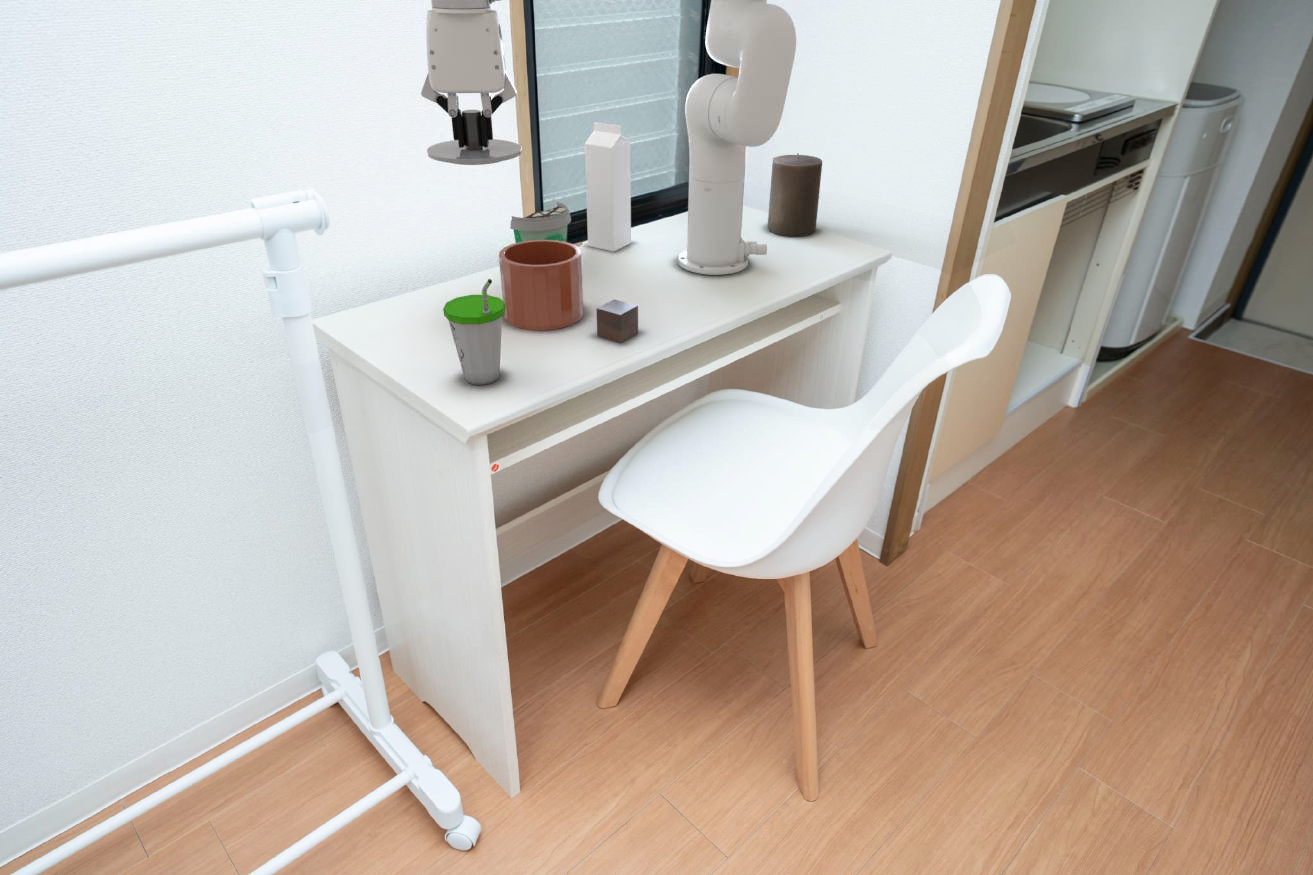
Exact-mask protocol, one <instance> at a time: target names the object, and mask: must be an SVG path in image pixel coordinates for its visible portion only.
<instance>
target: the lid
mask: <svg viewBox="0 0 1313 875" xmlns="http://www.w3.org/2000/svg"><path fill="white" fill-rule="evenodd" d="M481 112H482V110H479V109H464V110H461V114H462V120H463V130H464V140H465V146H464V147H463V148H459V143H458V140H454V139H453V140H447V141H443V142H442V141H441V142H437V143H435V144H432V145H430V146H429V147H428V148H426V155H427V157H428V158H430V159H432V160H434V161H437V162H442V163H448V164H452V165H460V166H461V165H463V166H482V165H491V164H492V165H493V164H497V163H501V162H505V161H509V160H513V159H515V158H518V157H519V156H521V155H522V153H523V148H522V146H521V145H520V144H519V143H516V142H513V141H509V140H505V139H497V138H496V139H495V138H493V140H489V145H488V147H484V146H482V135H481V124H480V117H481V115H482V114H481Z"/></svg>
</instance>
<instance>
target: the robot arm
mask: <svg viewBox="0 0 1313 875" xmlns="http://www.w3.org/2000/svg"><path fill="white" fill-rule="evenodd" d="M501 1H502V0H430V4H431V9H428V10H427V11H426V28H425V29H426V31H425V32H426V36H425V37H426V38H425V39H426V62H427V74H426V77H425V80H424V83H423V86H422V88H421V92H420V95H421V97H422V98H425V99H426V100H429V101H431V102H432V103H435V104H437V105H438V106H439V107H440V108H441V109H442V110H444V111H445V112H446V113H447V114H448V116H449V117H450V118H451V127H452V128H451V129H452V136H453V140H458V143H459V148H463V147H464V146H465V140H464V130H463V120H462V110H461V109H460V103H459V102H460V101H459V94H480V101H481V107H482V110H481V117H480V124H481V135H482V146H484V147H488V145H489V140H493V139H494V133H493V119H492V115H494V113H495V112H496V111H497V109H499V107H500V106H501V105H502V104H504V103H506V102H508V101H510V100H512V99H513V98H515V97H516V96H517V90H516V87H515V86H514V84H513V82H512V80H511V78H510V76H509V74H508V73H507V69H506V68H507V67H506V60H505V51H504V50H505V49H504V42H503V34H502V30H501V24H500V23H501V22H500V20H499V15H498V12H497V10H494V9H491V5H492V4H493V3H496V2H501ZM704 43H705V48H706V52H707V55H708V56H709V57H710V58H711V59H712V60H713V61H714V62H716V63H719V64H721V65H723V66H727V67H731V68H736V69H738V70H739V72H738V77H737V76H733V75H728V74H723V73H711V74H706V75H703V76H701V77H700V78H698V79H697V80H695V82H694V83H693V84H692V85H691V87H690V88H689V91H688V93H687V94H686V95H687V96H686V98H685V106H684V108H685V109H684V110H685V111H684V112H685V114H684V115H685V123H686V129H687V136H688V147H689V150H688V151H689V168H688V169H689V170H688V172H689V173H688V197H687V198H688V199H687V200H688V201H687V203H688V204H687V208H688V209H687V231H686V232H687V236H686V241H687V242H686V249H685V250H683V251H682V252H680V253H679V254H678V256H677V263H678V265H679V266H680V267H681V268H682V269H683V270H686V271H688V272H691V273H695V274H701V275H709V276H721V275H722V276H723V275H730V274H735V273H736V274H737V273H739V272H741V271H744V270H745V269H747V267H748V265H749V257H750V255H756V256H766V255H767V253H768V246H767V243H758V241H757V240H749V241H745V240H744V239H743V238H742V226H743V212H744V211H743V210H744V196H745V195H744V194H745V180H746V179H745V178H746V154H745V148H744V147H747V148H748V147H749V148H755V147H760V146H762V145H765V144H766V143H767V142H769V141H770V140H771V139H772V137H773V136H774V135H775V133H776V132H777V129H778V127H779V126H780V123H781V119H782V116H783V112H784V109H785V104H786V98H787V95H788V90H789V85H790V81H791V75H792V70H793V67H794V62H795V56H796V50H797V33H796V27H795V23H794V21H793V19H792V17H791V15H790V14H789V13H788V12H787V11H786V10H785V9H784V8H782V7H781V6H779V5H776V4H773V3H768V0H711V1H710V6H709V11H708V18H707V24H706V32H705V42H704ZM498 92H499V93H498ZM494 93H497V94H495V95H494V96H493V97H492V94H494ZM445 94H447V96H446V95H445Z"/></svg>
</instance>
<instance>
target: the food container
mask: <svg viewBox="0 0 1313 875" xmlns="http://www.w3.org/2000/svg"><path fill="white" fill-rule="evenodd" d="M571 222H572V217H571V213H570V210H569V209H568V206H567V204H565V203H563V202H559V201H556V206H555V207H553V208H550V209H547V210H537V211H534V212H532V213H531V214H529V215H527V216H525V217H518V216H513V215H512V216H511V220H510V226H509V228H510V229H511V230H513V235H514V241H515V243H518V242H523V241H530V240H557V241H563V242H568V225H569V224H570V223H571Z"/></svg>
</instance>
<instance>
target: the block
mask: <svg viewBox="0 0 1313 875" xmlns="http://www.w3.org/2000/svg"><path fill="white" fill-rule="evenodd" d="M637 334H639V305H637V304H633V303H629V302H626V301H622V300H618V299H611V300H610V301H608V302H606V303H604V304H602V305H600V306H598V307H596V335H597V337H598V338H599V337H600V338H603V339H607V340H610V341H613V342H616V343H618V344H619V343H620V344H622V343H624V342H626V341H628V340H629V339H631V338H632V337H634V336H636V335H637Z"/></svg>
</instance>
